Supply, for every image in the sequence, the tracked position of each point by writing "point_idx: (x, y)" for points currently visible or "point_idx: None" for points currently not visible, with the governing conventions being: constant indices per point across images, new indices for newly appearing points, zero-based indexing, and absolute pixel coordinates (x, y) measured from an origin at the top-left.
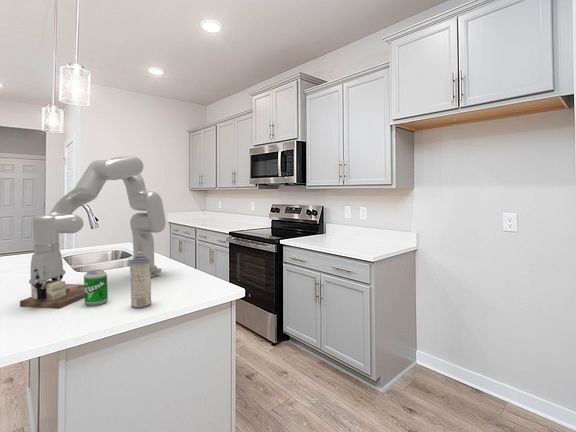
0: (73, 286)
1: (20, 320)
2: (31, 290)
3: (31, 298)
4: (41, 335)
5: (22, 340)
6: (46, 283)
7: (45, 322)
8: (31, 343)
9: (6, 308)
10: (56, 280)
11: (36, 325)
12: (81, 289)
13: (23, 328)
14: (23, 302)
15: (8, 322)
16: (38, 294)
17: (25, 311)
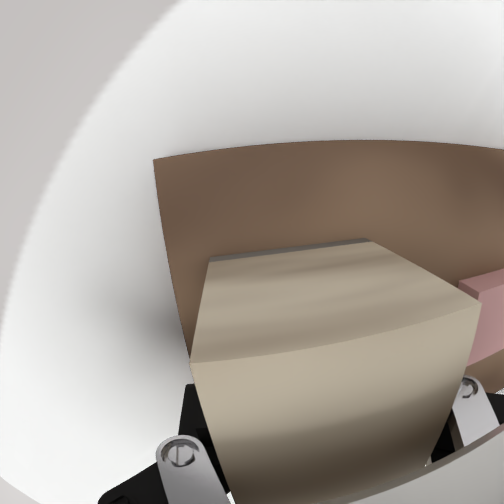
0: (497, 342)
1: (41, 398)
2: (201, 302)
3: (253, 197)
4: (56, 497)
5: (21, 477)
6: (295, 495)
7: (93, 479)
8: (33, 494)
9: (105, 105)
10: (450, 437)
11: (65, 469)
12: (483, 361)
13: (32, 449)
14: (162, 202)
15: (7, 367)
16: (186, 408)
17: (106, 318)
